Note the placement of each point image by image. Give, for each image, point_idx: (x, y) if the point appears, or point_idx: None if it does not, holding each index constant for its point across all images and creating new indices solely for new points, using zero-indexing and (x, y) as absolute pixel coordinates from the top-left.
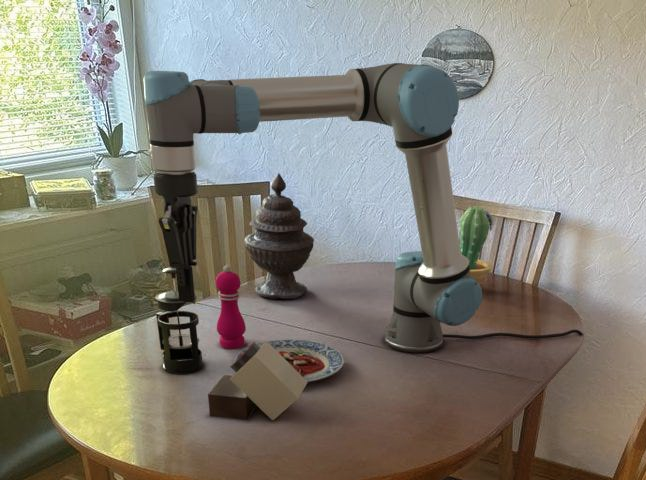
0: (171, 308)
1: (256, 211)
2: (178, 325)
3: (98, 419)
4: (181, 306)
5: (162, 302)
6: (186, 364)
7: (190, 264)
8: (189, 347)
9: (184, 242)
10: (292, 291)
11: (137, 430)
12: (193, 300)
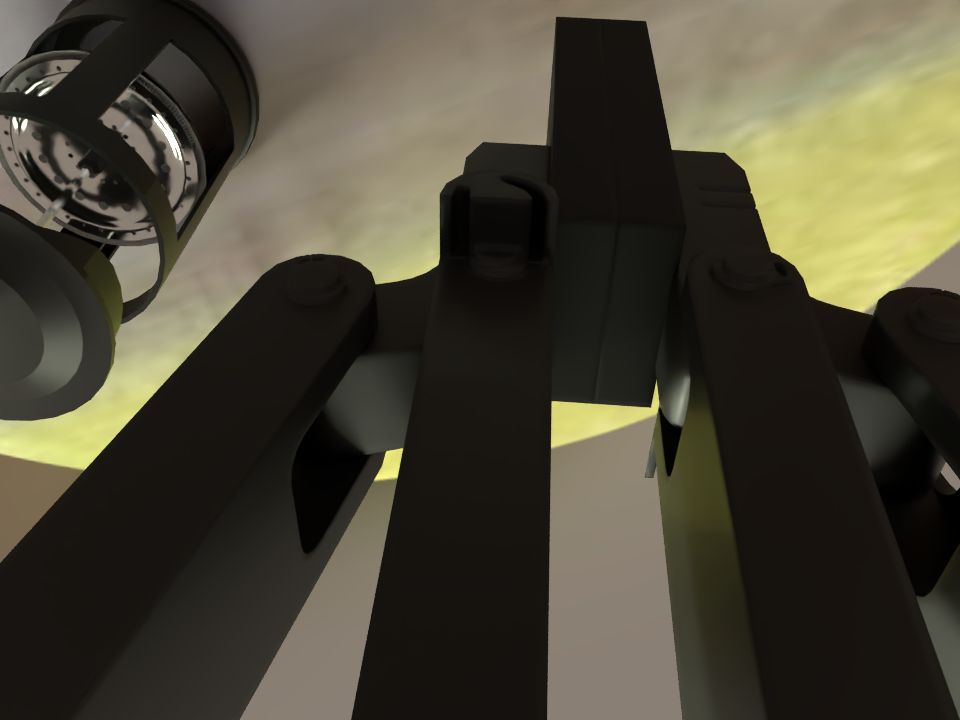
0: (107, 283)
1: None
2: (143, 189)
3: (780, 247)
4: (57, 232)
5: (112, 354)
6: (213, 60)
7: (544, 260)
8: (146, 80)
9: (857, 644)
10: None
11: (898, 54)
12: (602, 23)
